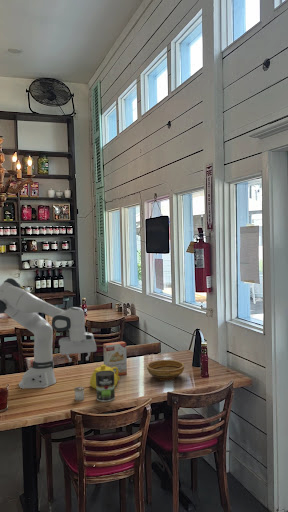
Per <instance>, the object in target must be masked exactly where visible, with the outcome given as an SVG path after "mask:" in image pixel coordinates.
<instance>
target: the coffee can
mask: <svg viewBox="0 0 288 512" xmlns="http://www.w3.org/2000/svg"><path fill="white" fill-rule="evenodd" d="M115 389H116V386H115V387H114V372H113V371H99V372H97V373H96V389H95V390H96V400H97V402H103V403H104V402H111V401H114V400H115V399H116V395H115Z"/></svg>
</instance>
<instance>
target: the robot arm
mask: <svg viewBox="0 0 288 512" xmlns="http://www.w3.org/2000/svg"><path fill="white" fill-rule="evenodd" d="M3 313H5V314H6V315H7V316H8V317H10V319H11V320H13V321H15V322H16V323H17V324H19V325H20V326H22V327H23V328H25V329H26V330H28V331H29V332H31V333H32V334H33V336H34V337H33V338H34V339H33V340H34V341H33V342H34V343H33V356H34V357H33V360H30V368H28V369H27V370H26V371H25V373H23V375H22V379H21V380H20V382H19V383H18V388H19V387H20V389H21V388H22V390H23V389H24V388H26V389H40V388H41V389H45V388H48V387H49V386H53V385H54V384H56V382H57V379H56V377H55V376H56V375H55V371H54V368H55V363H54V358H53V340H54V338H53V336H54V335H53V333H54V331H56V332H64V331H67V330H68V331H69V332H68V333H69V336H67V337H66V336H65V337H60V338H59V340H58V346H59V354H60V355H61V356H64V355H65V356H66V358H67V359H68V362H69V363H71V362H72V358H70V355H74V354H84V353H87V356H85V361H89V359H90V356H91V353H95V352H97V351H98V349H97V343H96V341H95V337H94V334H93V333H91V332H88V331H86V327H85V324H86V319H85V312H84V309H83V308H81V307H79V306H70V307H69V308H68V309H62V308H59V307H58V306H56V305H54V304H52V303H49V302H47V301H45V300H44V299H41V298H40V297H37V296H36V295H34V294H33V293H31V292H28V291H27V290H25V289H23V288H22V287H21V283H19V282H18V280H16V279H14V278H12V277H9V278H7V279H5V280H4V281H3V282H2V284H0V314H3ZM38 313H41V314H44V315H47V316H49V317H51V318H52V319H51V324H50V323H49V322H48V320H46V319H45V318H44V317H42V315H40V314H38ZM53 330H54V331H53Z"/></svg>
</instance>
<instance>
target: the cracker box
mask: <svg viewBox="0 0 288 512" xmlns="http://www.w3.org/2000/svg"><path fill="white" fill-rule="evenodd" d="M102 345H103V348H102V349H103V365H106V366H108V367H111V368H112V367H117V368H118V376H119V377H120V376H126V375H127V374H128V368H127V367H128V366H127V365H128V364H127V363H128V362H127V360H128V359H127V343H126V342H125V341H116V342H108V343H103V344H102ZM113 371H114V372H115V374H116V369H113Z"/></svg>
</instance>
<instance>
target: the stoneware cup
mask: <svg viewBox="0 0 288 512" xmlns="http://www.w3.org/2000/svg"><path fill="white" fill-rule="evenodd" d="M74 400H75V401H77V400H78V401H84V400H85V387H84V386H76V387H74Z"/></svg>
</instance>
